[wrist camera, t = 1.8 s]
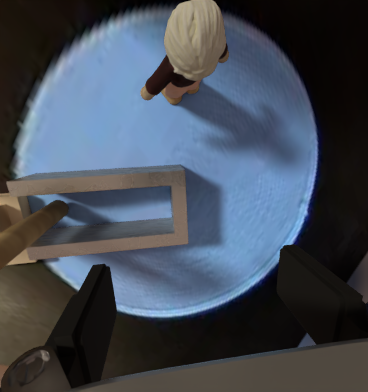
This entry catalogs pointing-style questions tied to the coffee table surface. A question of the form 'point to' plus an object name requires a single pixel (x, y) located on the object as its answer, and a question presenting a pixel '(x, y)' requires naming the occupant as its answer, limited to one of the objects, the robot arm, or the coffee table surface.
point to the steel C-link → (108, 232)
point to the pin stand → (24, 226)
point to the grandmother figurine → (189, 50)
